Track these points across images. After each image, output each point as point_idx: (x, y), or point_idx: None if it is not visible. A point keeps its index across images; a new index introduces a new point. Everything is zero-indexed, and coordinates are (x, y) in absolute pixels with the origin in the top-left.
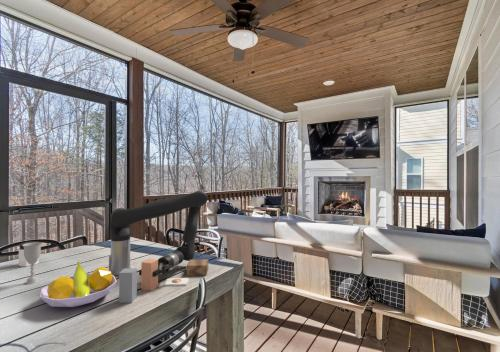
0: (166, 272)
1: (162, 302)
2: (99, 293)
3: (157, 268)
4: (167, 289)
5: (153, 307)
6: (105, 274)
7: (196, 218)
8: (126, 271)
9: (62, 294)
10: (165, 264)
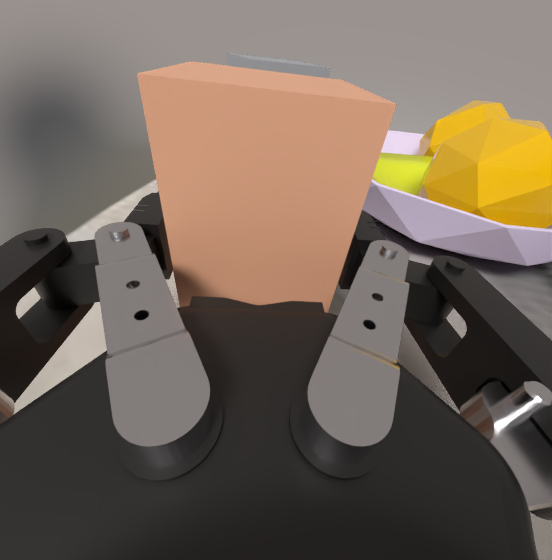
0: (30, 316)
1: (80, 230)
2: None
3: (173, 239)
4: (75, 354)
5: (115, 206)
6: (455, 149)
7: None
8: (273, 59)
9: (419, 144)
10: (32, 524)
